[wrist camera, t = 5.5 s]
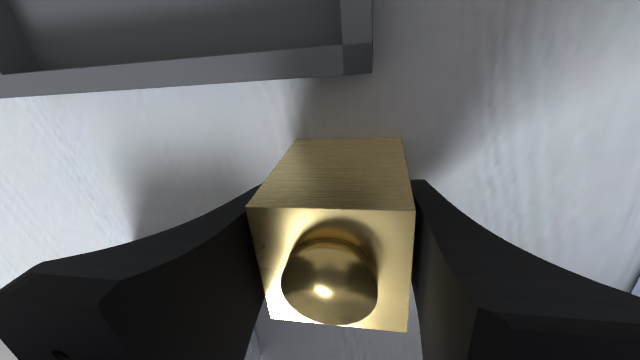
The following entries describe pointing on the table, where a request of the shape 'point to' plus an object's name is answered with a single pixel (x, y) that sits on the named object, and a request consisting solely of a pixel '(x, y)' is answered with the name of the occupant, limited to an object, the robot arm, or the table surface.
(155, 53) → the parts tray
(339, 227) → the fitting block
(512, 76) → the table surface
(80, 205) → the table surface
